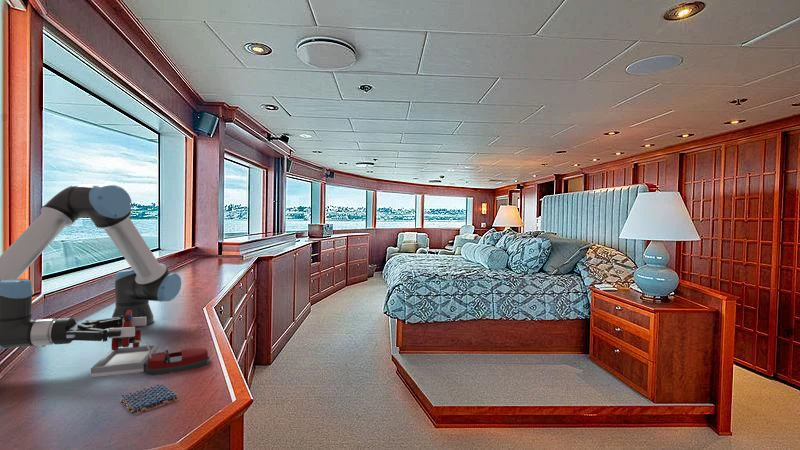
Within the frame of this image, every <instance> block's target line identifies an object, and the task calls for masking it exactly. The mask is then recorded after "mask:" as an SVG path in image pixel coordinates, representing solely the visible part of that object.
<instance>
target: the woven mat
mask: <svg viewBox="0 0 800 450" xmlns="http://www.w3.org/2000/svg"><path fill="white" fill-rule="evenodd" d="M157 393H158V394H157ZM121 397H122V398H121V399H120V400H119V402H120V403H122V405H123V406H125V405H124V404H127V405H128V408H127V407H126V406H125V409H126V408H127V409H126V410H128V411H129V409H130V410H131V409H132V410H131V411H130V413H131V414H133V415H136V414H137V413H138V414H140V412H141V413H143V412H146V411H149V410H152V409H155V408H160V407H162V406H165V405H167V404H171V403H173V402H174V403H175V402H177V401H179V400H180V398H178V397H179V394H178V393H175V391H174V390H173V389H170V388H169V387H167V386H166V385H165V384H157V385H156V386H154V387H153V386H150V388H147V389H146V388H143V390H140V391H139V390H136V392H133V393H132V392H129V393H128V394H126V395H124V394H122V395H121ZM122 401H124V402H122ZM132 412H134V413H132Z"/></svg>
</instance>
